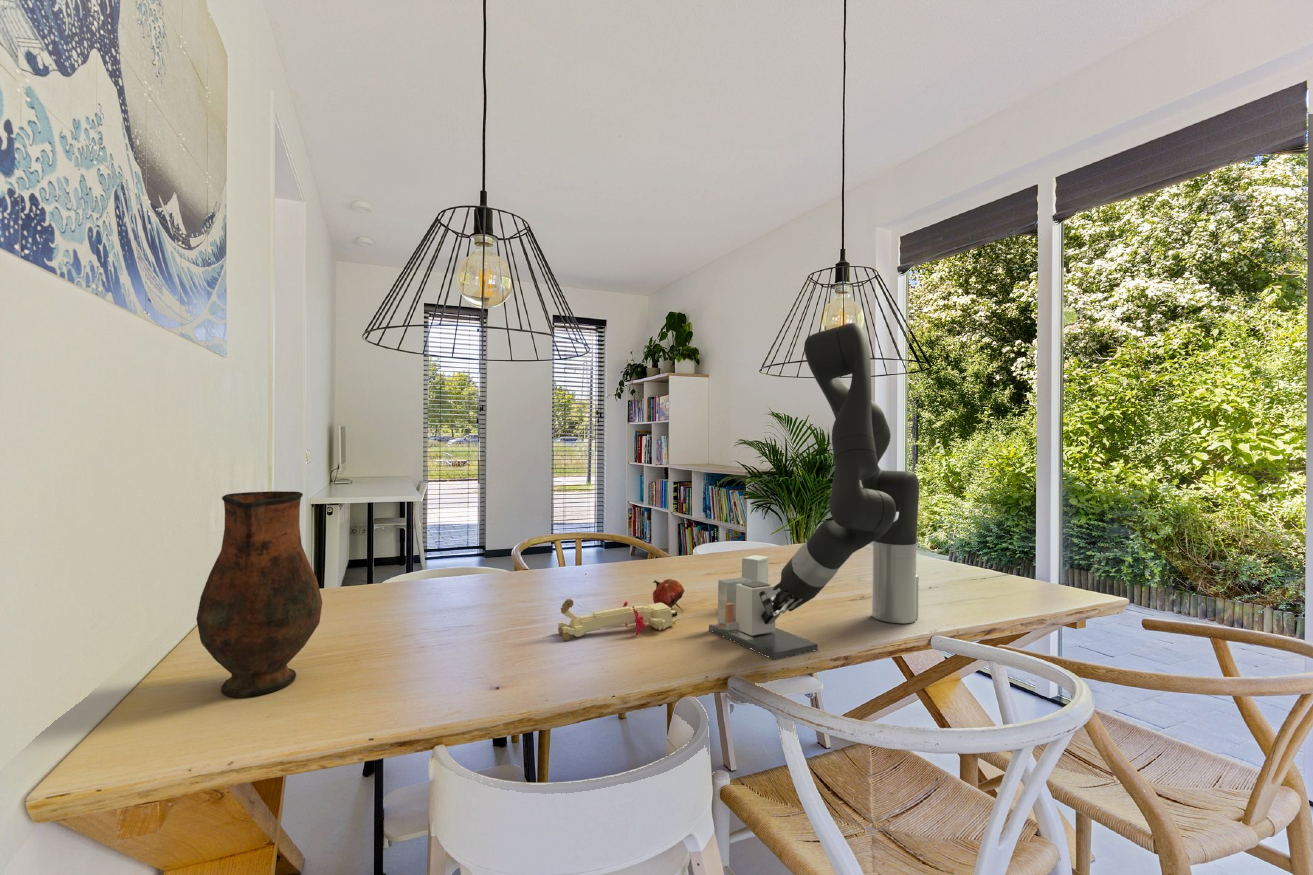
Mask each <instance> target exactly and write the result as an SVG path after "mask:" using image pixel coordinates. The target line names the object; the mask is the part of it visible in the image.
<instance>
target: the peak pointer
mask: <svg viewBox="0 0 1313 875" xmlns="http://www.w3.org/2000/svg"><path fill="white" fill-rule="evenodd" d="M733 606H734V604H732V603H728V604H726V607H725V629H726V623H730V622H733Z"/></svg>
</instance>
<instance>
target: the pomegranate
mask: <svg viewBox="0 0 1313 875" xmlns="http://www.w3.org/2000/svg"><path fill="white" fill-rule="evenodd" d="M652 583H655V585H656V586H655V589H654V590H653V591H652V602H653V604H655V603H663V604H665V605H667V606H668V607H670V608H671V609H672V607H674V606H676V607H677V608H679V610H680V611H681V612H682V613H684V610H683V608H682V607H681V606H680V605H678V603H677V602H679V600H680V599H682V597H683V594H684V593H685V589H684V587H683V585H682V583H681V582H679V580H675V579H672V578H668V579H663V581H662V582H660V581H657V580H654V581H652Z"/></svg>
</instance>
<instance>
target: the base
mask: <svg viewBox="0 0 1313 875" xmlns="http://www.w3.org/2000/svg"><path fill="white" fill-rule="evenodd" d="M748 582H751V580H750V579H746V578H743V577H742V576H741V577H734V578H726V579H718V585H717V586H718V587H717V588H718V589H717V591H718V592H717V623H711V624H708V631H709V630H710V631H709V632H711V631H713V632H714V633H713V632H712V633H713V634H715V633H717V634H718V636H720V635H721V636H720V637H722V636H724V637H725V638H724V637H723V638H724V639H726V638H728V639H731V640H732V641H731V640H730V641H731V642H733V641H735V642H737V643H739V644H742V645H744V646H746V647H748V648H752V649H753V650H755V651H757V652H760V653H762V654H763V655H762V654H761V655H762V656H764V655H766V656H769V657H770V658H772V659H771V660H773V659H775V660H777V659H776V658H779V659H783V658H782V657H784V658H787V657H786V656H789V657H792V656H791V655H793V656H797V655H796V654H798V655H800V654H799V653H803V654H806V653H805V652H808V653H811V652H810V651H812V652H814V651H813V650H817V651H819V646H818V645H819V644H818V643H816V642H814V641H811V640H809V639H806V638H803V637H801V636H798V635H796V634H793V633H790V632H788V631H785V630H783V629H780V628H777V627H775V631H774V632H769V633H764V634H758V635H753V636H751V635H749V634H746V633H744V632H742V631H739V630H737V629H735V630H726V629H725V607H726V604H728V603H732V604H734V606H733V622H736V584H742V583H748ZM717 634H716V635H717ZM728 639H727V640H728ZM735 642H734V643H735ZM737 643H736V644H737ZM739 644H738V645H739ZM742 645H741V646H742ZM744 646H743V647H744ZM746 647H745V648H746ZM748 648H747V649H748ZM753 650H752V651H753ZM755 651H754V652H755ZM757 652H756V653H757ZM766 656H765V657H766ZM770 658H769V659H770Z"/></svg>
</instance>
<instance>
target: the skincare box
mask: <svg viewBox="0 0 1313 875" xmlns="http://www.w3.org/2000/svg"><path fill="white" fill-rule="evenodd" d="M769 558H770V557H769V556H764V555H757V554H756V555H755V554H754V555H750V556H749V555H748V556H746V557H742V559H741V577H743V578H746V579H750V580H751V582H756V581H760V582H763V583H767V584H769V571H770V569H769V568H770V566H769V564H770V563H769V562H770V560H769Z"/></svg>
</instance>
